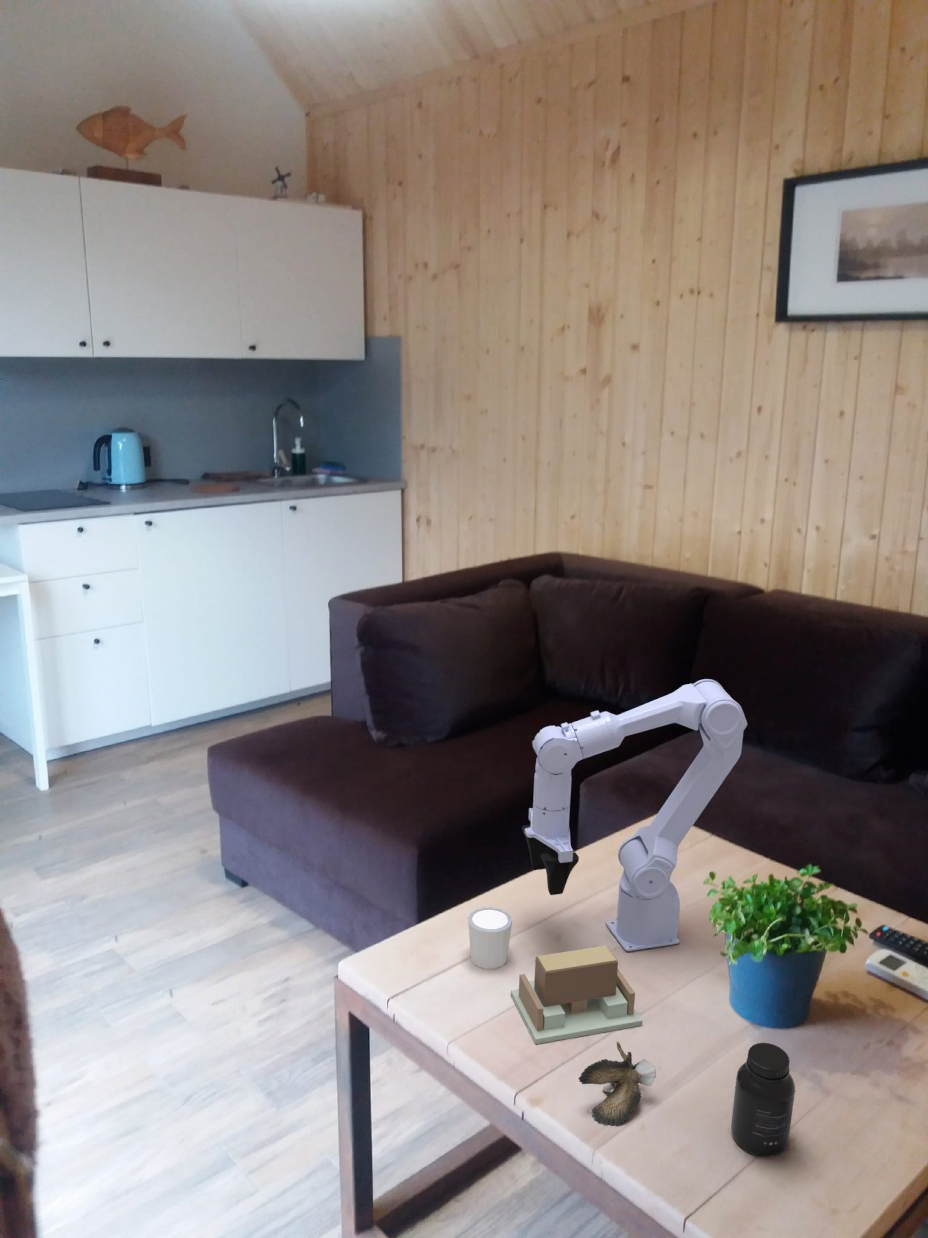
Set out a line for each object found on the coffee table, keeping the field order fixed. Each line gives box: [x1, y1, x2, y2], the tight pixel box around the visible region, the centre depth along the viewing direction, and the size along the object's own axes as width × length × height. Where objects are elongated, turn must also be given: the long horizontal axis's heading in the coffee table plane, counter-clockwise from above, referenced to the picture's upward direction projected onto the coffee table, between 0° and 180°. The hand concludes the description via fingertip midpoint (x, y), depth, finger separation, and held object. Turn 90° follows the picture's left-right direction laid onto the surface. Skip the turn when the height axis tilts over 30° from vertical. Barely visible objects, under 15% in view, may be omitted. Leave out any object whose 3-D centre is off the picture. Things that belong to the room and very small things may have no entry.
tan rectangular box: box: [533, 945, 619, 1007], centre depth 144 cm, size 11×4×6 cm, turn 106°
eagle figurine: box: [578, 1041, 657, 1126], centre depth 128 cm, size 8×7×9 cm
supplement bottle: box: [730, 1042, 796, 1158], centre depth 122 cm, size 7×7×12 cm
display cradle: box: [510, 968, 643, 1045], centre depth 145 cm, size 16×11×4 cm
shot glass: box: [467, 907, 513, 970], centre depth 156 cm, size 7×7×7 cm
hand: (547, 880), depth 160 cm, fingers open, 7 cm apart
